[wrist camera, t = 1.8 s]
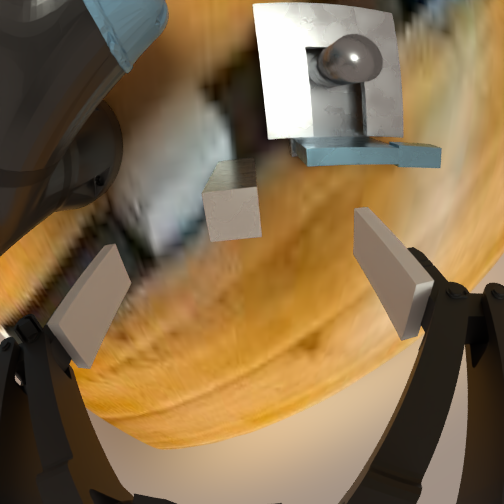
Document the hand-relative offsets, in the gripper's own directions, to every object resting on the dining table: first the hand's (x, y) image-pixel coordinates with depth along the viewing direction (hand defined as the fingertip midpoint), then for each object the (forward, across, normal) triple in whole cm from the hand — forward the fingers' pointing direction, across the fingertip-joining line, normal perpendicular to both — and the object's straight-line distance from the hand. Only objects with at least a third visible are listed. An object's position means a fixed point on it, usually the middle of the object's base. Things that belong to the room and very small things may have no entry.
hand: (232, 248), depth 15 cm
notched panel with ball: (+19, +12, +9) cm, 24 cm away
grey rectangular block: (+19, 0, -1) cm, 19 cm away
